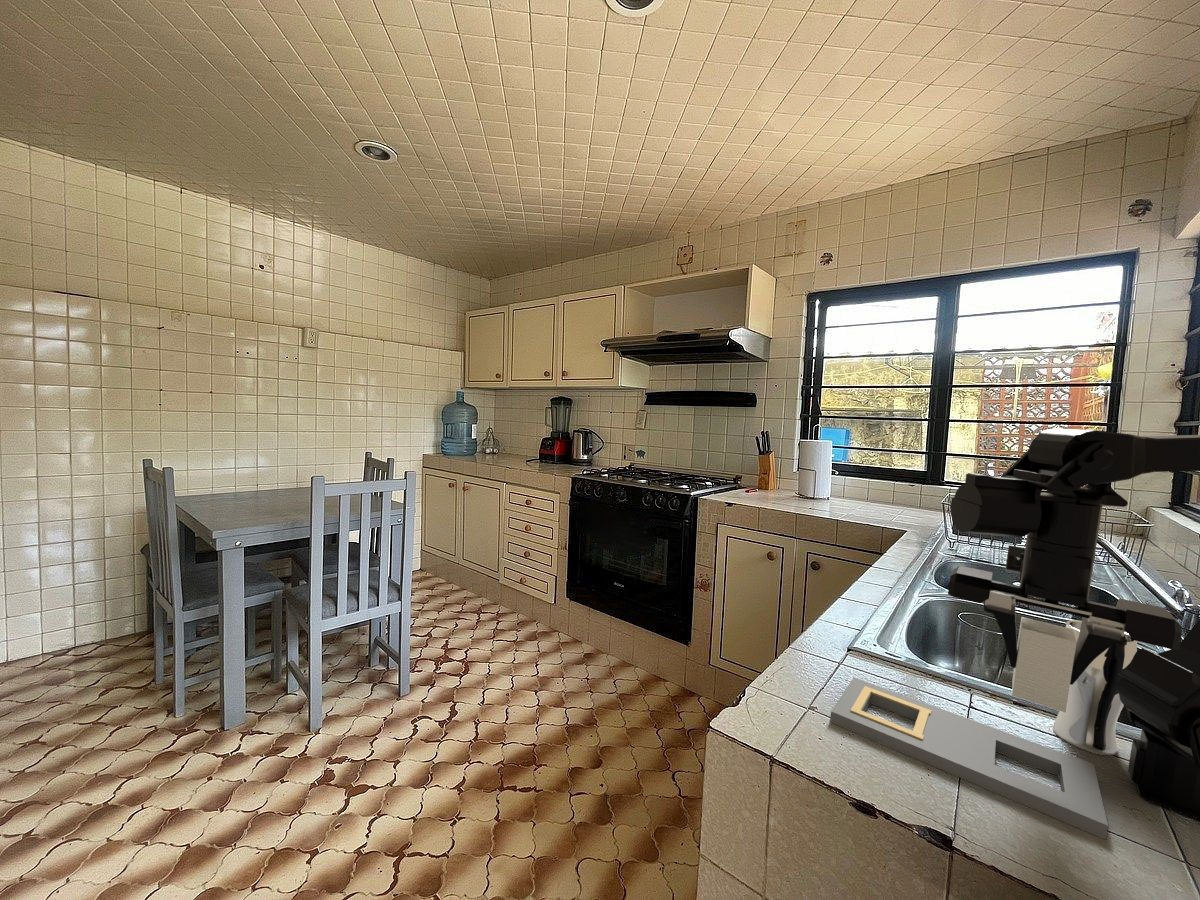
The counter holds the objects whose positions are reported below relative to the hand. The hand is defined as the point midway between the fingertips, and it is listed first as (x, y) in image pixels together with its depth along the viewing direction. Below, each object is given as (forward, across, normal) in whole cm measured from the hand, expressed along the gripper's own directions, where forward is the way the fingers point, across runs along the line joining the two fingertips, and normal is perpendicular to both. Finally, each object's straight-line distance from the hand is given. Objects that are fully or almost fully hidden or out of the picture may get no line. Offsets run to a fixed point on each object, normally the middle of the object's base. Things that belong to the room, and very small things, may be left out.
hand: (1040, 674), depth 57 cm
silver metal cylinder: (+13, -6, -15) cm, 20 cm away
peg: (+2, 0, 0) cm, 2 cm away
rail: (+12, +7, 0) cm, 14 cm away
